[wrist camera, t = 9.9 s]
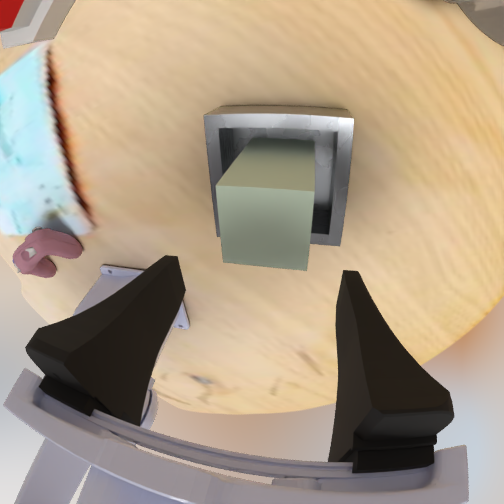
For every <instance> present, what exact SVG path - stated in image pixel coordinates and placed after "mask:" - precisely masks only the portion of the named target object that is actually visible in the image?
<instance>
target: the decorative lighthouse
mask: <svg viewBox="0 0 504 504" xmlns="http://www.w3.org/2000/svg"><path fill="white" fill-rule="evenodd" d="M74 2H75V0H0V34H1V40H2V45H3V49H4V48H9V47H13V46H18V45H23V44H28V43H33V42H38V41H44V40H50V39H54V37H55V35H56V33H57V32H58V30H59V28H60V26H61V24H62V22H63V20H64V19H65V17H66V15H67V13H68V12H69V10H70V8H71V7H72V5H73V3H74Z"/></svg>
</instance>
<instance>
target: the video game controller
mask: <svg viewBox="0 0 504 504" xmlns="http://www.w3.org/2000/svg"><path fill="white" fill-rule="evenodd" d="M32 232H33V233H31V234H29V235H28V236H27V237H26V238H25V242H24V243H23V244H21V245H20V246H19V247H18V248H17V249H16V251H15V252H14V254H13V263H14V266H15V267H16V268H18V273H19V272H21V273H22V274H32V275H36V276H40V277H44V278H49V277H53V276H54V275H55V273H56V267H55V265H54V264H53V263H52V262H51V261H49V260H48V259H46V258H44V256H46V255H55V256H60V257H64V258H68V259H73V258H78V257H79V256H80V255H81V254H82V246H81V244H80V243H79V242H78V241H77V240H76V239H75V238H73V237H72V236H70V235H68V234H66V233H63V232H59V231H54V230H51V229H48V228H47V229H42V228H41V227H35V228H34V229H33V230H32Z"/></svg>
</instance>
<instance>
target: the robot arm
mask: <svg viewBox="0 0 504 504" xmlns="http://www.w3.org/2000/svg"><path fill="white" fill-rule="evenodd" d="M100 270H101V273H102V275H101V276H100V278H99V279H98V280H97V281H96V283H95V284H94V285H93V287H92V288H91V289H90V291H89V292H88V293H87V295H86V296H85V297H84V299H83V300H82V301H81V303H80V304H79V305H78V307H77V308H76V310H75V312H74V314H73V316H72V317H70V318H67V319H65V320H62V321H60V322H57V323H54V324H51V325H48V326H45V327H42V328H39V329H38V330H37V331H36V333H35V334H34V335H33V337H32V338H31V340H30V341H29V343H28V344H27V346H26V347H25V348H26V352H27V354H28V355H29V357H30V358H31V359H32V360H33V362H34V363H35V364H36V365H37V366H38V367H39V368H40V369H41V371H42V372H43V373H44V374H45V376H44V378H43V379H42V378H41V377H39V376H38V375H36V374H35V373H33V372H31V371H30V370H28V369H26V368H24V370H23V371H22V373H21V375H20V376H19V378H18V380H17V381H16V383H15V385H14V387H13V388H12V390H11V392H10V393H9V395H8V397H7V399H6V401H5V402H4V404H3V406H4V407H5V408H6V409H7V410H8V411H10V412H11V413H12V414H13V415H15V416H16V417H17V418H19V419H20V420H21V421H22V422H24V423H25V424H26V425H28V426H29V427H31V428H32V429H33V430H35V431H36V432H38V433H39V434H41V435H42V436H44V437H45V440H44V442H43V444H42V446H41V448H40V450H39V452H38V454H37V456H36V458H35V459H34V462H33V464H32V466H31V468H30V470H29V472H28V474H27V476H26V478H25V481H24V483H23V485H22V487H21V489H20V492H19V494H18V496H17V499H16V501H15V503H14V504H69V503H70V501H71V499H72V497H73V495H74V494H75V492H76V490H77V488H78V486H79V484H80V482H81V481H82V479H83V477H84V475H85V473H86V471H87V470H88V468H89V466H90V465H92V466H91V468H90V471H89V473H88V476H87V478H86V481H85V483H84V486H83V488H82V491H81V493H80V496H79V498H78V501H77V504H465V503H467V502H468V495H469V492H468V463H467V449H466V445H461V446H456V447H451V448H445V449H441V450H438V451H435V452H434V445H435V444H436V443H437V435H436V434H437V433H439V432H440V431H441V430H443V429H444V428H445V427H446V426H448V424H450V423H451V421H452V420H453V418H454V411H453V404H452V400H451V397H450V392H449V391H448V390H447V389H446V388H444V387H443V386H442V385H441V384H439V383H438V382H437V381H436V380H435V379H434V378H433V377H431V376H430V375H429V374H428V373H427V372H426V371H425V370H424V369H423V368H422V367H421V366H420V365H419V364H418V363H417V361H416V360H415V359H414V358H413V357H412V356H411V355H410V354H409V353H408V352H407V350H406V349H405V348H404V347H403V345H402V344H401V343H400V341H399V340H398V339H397V337H396V336H395V335H394V333H393V332H392V330H391V329H390V328H389V326H388V325H387V323H386V321H385V320H384V318H383V317H382V315H381V313H380V312H379V310H378V308H377V306H376V305H375V303H374V301H373V299H372V298H371V296H370V294H369V292H368V290H367V288H366V286H365V284H364V282H363V280H362V278H361V276H360V274H359V272H358V271H348V270H343V274H342V280H341V285H340V290H339V295H338V299H337V304H336V341H337V357H338V388H337V401H336V410H335V419H334V427H333V434H332V441H331V447H330V453H329V458H328V462H312V461H299V460H287V459H277V458H270V457H262V456H255V455H249V454H243V453H237V452H232V451H226V450H222V449H217V448H212V447H208V446H203V445H199V444H195V443H191V442H188V441H184V440H180V439H176V438H173V437H170V436H166V435H163V434H160V433H157V432H154V431H151V430H149V429H150V427H151V426H152V424H153V422H154V420H155V417H156V414H157V410H158V399H157V393H156V391H155V390H153V389H152V387H153V384H154V382H155V379H153V378H152V377H151V375H152V371H153V369H154V367H155V365H156V363H157V360H158V358H159V356H160V354H161V352H162V350H163V347H164V345H165V343H166V341H167V339H168V337H169V335H170V333H171V330H172V328H173V327H175V328H181V329H189V327H190V324H189V321H188V318H187V314H186V311H185V307H184V304H183V297H184V294H185V291H186V289H185V285H184V281H183V277H182V273H181V269H180V265H179V261H178V257H177V256H167V255H165V256H164V257H162V258H161V259H160V260H158V261H157V262H156V263H154V264H153V265H152V266H150V267H149V268H148V269H146V270H145V271H142V270H135V269H127V268H120V267H113V266H106V265H102V266H101V267H100ZM136 444H138V445H140V446H143V447H146V448H149V449H152V450H154V451H158V452H160V453H164V454H167V455H170V456H174V457H177V458H180V459H183V460H187V461H191V462H195V463H198V464H202V465H207V466H211V467H215V468H220V469H224V470H229V471H235V472H240V473H246V474H252V475H259V476H266V477H274V478H275V479H273V480H272V484H265V483H260V482H254V481H249V480H245V479H240V478H236V477H231V476H227V475H223V474H219V473H215V472H211V471H208V470H204V469H200V468H197V467H193V466H190V465H187V464H184V463H180V462H177V461H173V460H170V459H167V458H164V457H161V456H158V455H154V454H152V453H149V452H146V451H143V450H141V449H138V448H137V447H136V446H135V445H136Z"/></svg>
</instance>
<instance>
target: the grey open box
mask: <svg viewBox="0 0 504 504" xmlns="http://www.w3.org/2000/svg"><path fill="white" fill-rule="evenodd" d="M204 125H205V135H206V145H207V155H208V164H209V174H210V183H211V192H212V200H213V209H214V217H215V225H216V233H217V237H220V227H219V217H218V207H217V196H216V184H217V183H218V182H219V180H220V179H221V178H222V176H223V175H224V174H225V172H226V171H227V170H228V168H229V167H230V166H231V165H232V163H233V162H234V161H235V159H236V158H237V157H238V155H239V154H240V153H241V152H242V150H243V149H244V148H245V147H246V145H247V144H248V143H249V141H250V140H251V139H252V138H253V137H254V138H281V139H299V140H312V141H315V193H314V205H313V216H312V227H311V237H310V244H319V245H331V246H340V244H341V237H342V230H343V223H344V216H345V209H346V201H347V192H348V184H349V174H350V164H351V153H352V141H353V127H354V118H353V117H352V116H351V114H350V113H349V112H348V110H347V109H338V108H326V107H312V106H290V105H236V106H221V107H219V108H217V109H215V110H213V111H211V112H209V113H207V114H205V115H204Z"/></svg>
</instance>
